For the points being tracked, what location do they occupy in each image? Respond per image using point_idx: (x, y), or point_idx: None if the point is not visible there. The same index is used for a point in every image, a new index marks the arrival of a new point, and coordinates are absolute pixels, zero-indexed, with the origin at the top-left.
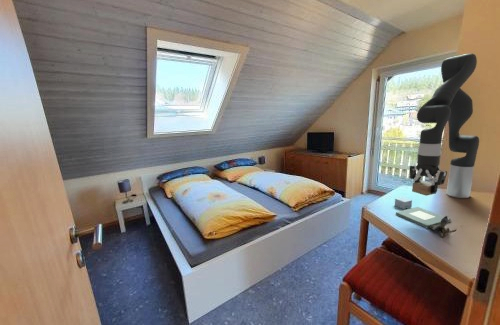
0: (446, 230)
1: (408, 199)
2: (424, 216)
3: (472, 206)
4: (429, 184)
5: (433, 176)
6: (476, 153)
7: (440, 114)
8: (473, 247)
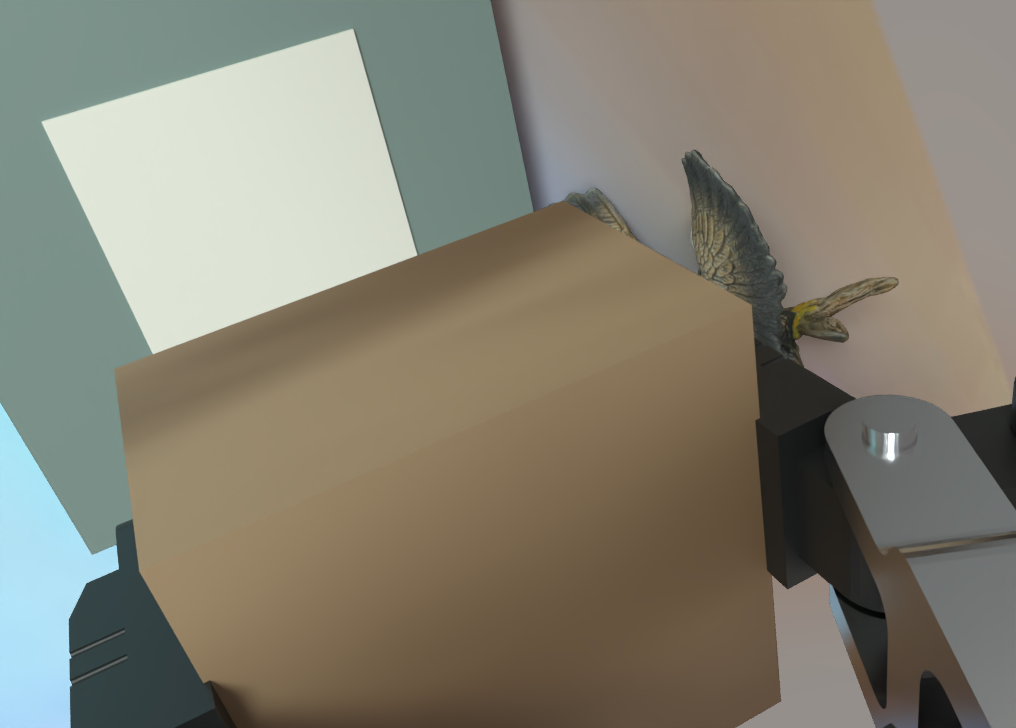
0: (813, 336)
1: None
2: (313, 215)
3: None
4: (645, 545)
5: (973, 701)
6: None
7: None
8: (911, 168)
